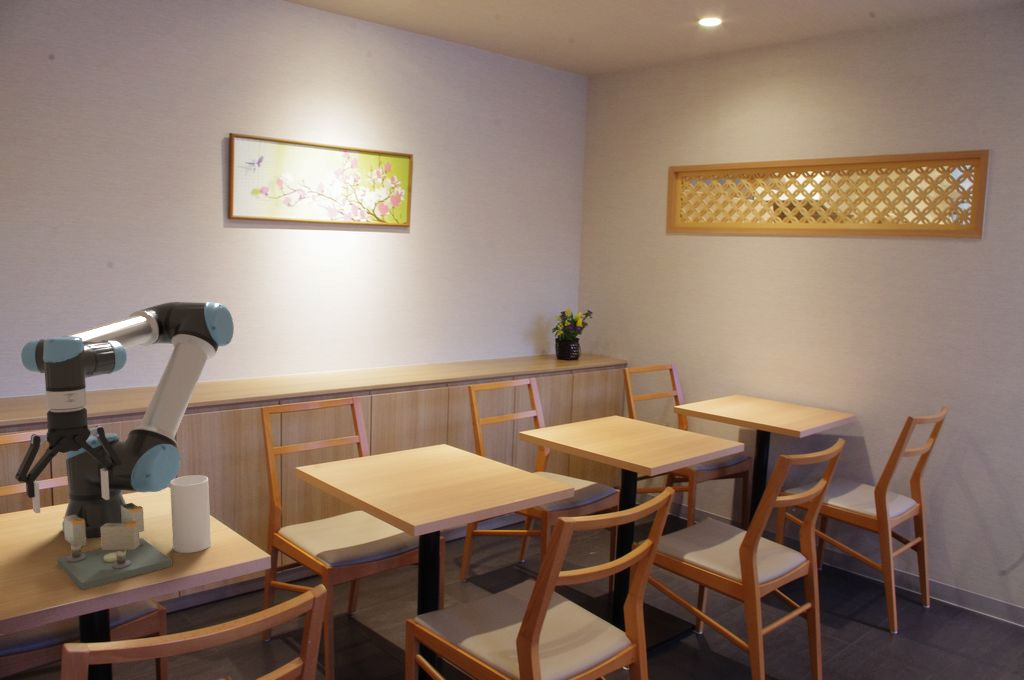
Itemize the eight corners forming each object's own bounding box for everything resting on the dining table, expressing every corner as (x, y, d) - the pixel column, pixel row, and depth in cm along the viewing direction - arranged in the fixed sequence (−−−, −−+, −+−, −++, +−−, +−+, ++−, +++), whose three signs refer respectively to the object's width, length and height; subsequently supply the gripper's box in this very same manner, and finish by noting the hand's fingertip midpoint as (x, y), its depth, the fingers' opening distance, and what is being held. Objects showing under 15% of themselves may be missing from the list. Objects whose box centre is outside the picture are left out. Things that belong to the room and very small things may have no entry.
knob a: (65, 552, 176) (63, 514, 175) (77, 549, 178) (75, 512, 177) (75, 561, 171) (72, 522, 170) (87, 558, 173) (84, 520, 172)
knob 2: (122, 539, 184) (120, 502, 184) (133, 536, 186) (131, 500, 185) (133, 547, 180) (131, 510, 179) (144, 544, 181) (142, 507, 180)
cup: (188, 555, 181) (184, 487, 179) (165, 548, 185) (162, 481, 183) (218, 544, 188) (215, 478, 186) (196, 537, 192) (193, 473, 190)
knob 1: (102, 564, 170) (100, 524, 169) (107, 559, 172) (105, 520, 171) (135, 563, 170) (133, 524, 169) (140, 559, 172) (138, 520, 172)
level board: (57, 564, 175) (56, 554, 175) (142, 544, 188) (141, 534, 187) (82, 590, 162) (81, 579, 162) (171, 566, 175) (171, 555, 175)
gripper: (3, 419, 159) (10, 521, 162) (133, 403, 177) (138, 496, 179) (-5, 413, 165) (1, 513, 167) (122, 399, 182) (126, 489, 184)
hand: (72, 504), depth 173 cm, fingers open, 13 cm apart
